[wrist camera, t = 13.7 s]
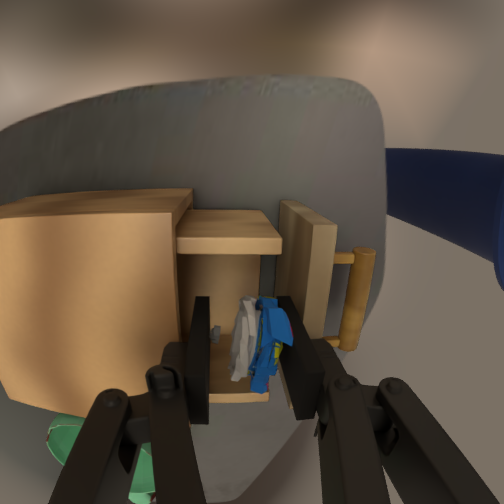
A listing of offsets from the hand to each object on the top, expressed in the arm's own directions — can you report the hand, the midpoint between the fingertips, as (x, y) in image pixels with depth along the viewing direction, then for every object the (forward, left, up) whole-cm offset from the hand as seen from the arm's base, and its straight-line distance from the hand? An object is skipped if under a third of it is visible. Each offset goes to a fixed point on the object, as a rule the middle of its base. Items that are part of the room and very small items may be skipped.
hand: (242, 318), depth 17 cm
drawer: (0, 0, -6) cm, 6 cm away
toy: (0, 0, 0) cm, 0 cm away
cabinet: (+10, 0, -7) cm, 12 cm away
